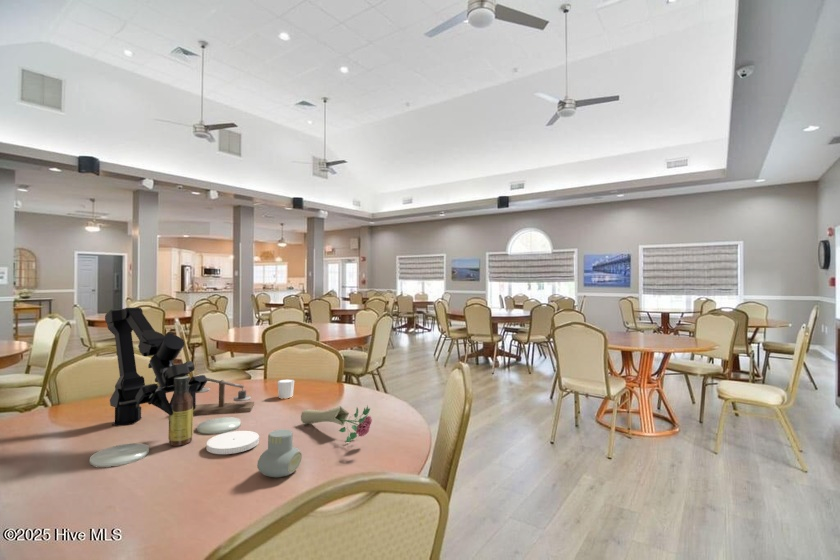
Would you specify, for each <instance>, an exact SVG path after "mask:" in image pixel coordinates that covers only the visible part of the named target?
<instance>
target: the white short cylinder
mask: <svg viewBox="0 0 840 560" xmlns="http://www.w3.org/2000/svg"><path fill="white" fill-rule="evenodd" d="M294 387H295V379H291V378H288V379H285V378H284V379H280V380H278V381H277V390H278V399H279V398H289V397H292V396H293V397H294ZM293 397H292V398H293Z"/></svg>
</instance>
